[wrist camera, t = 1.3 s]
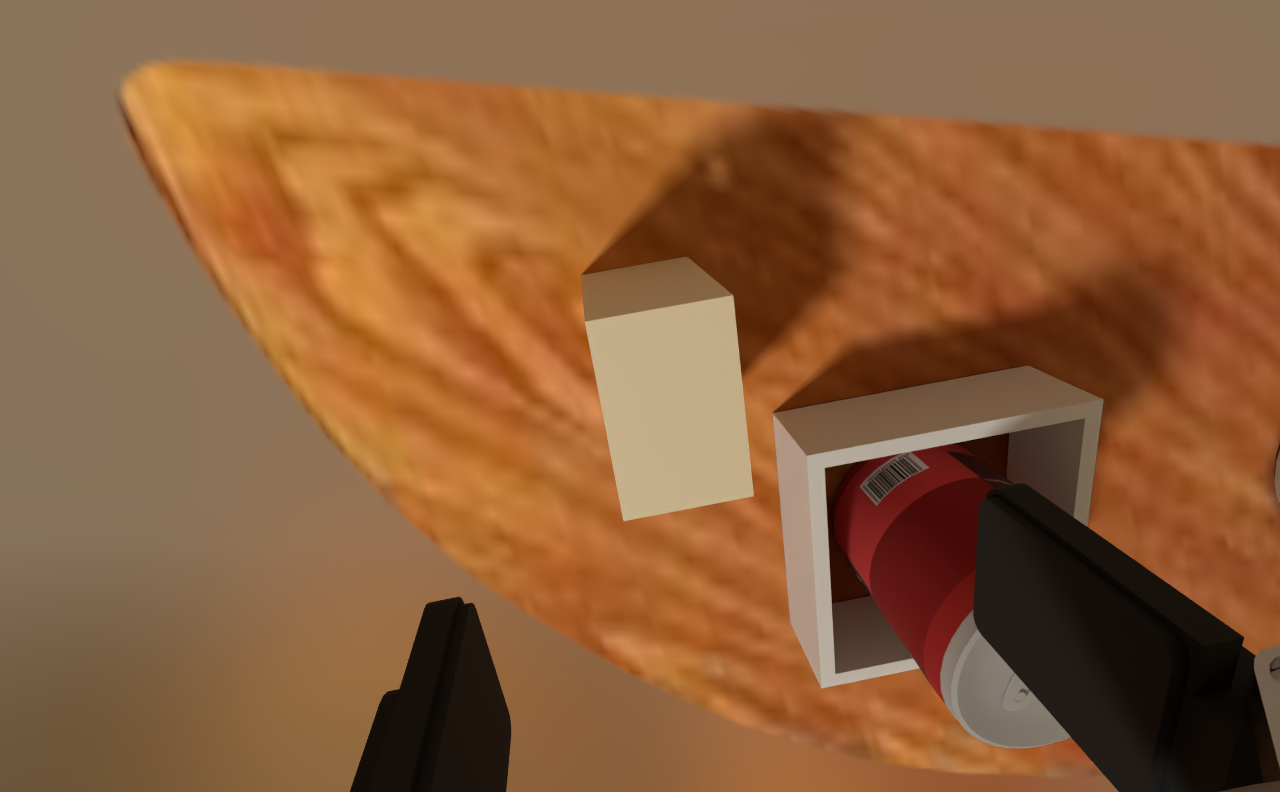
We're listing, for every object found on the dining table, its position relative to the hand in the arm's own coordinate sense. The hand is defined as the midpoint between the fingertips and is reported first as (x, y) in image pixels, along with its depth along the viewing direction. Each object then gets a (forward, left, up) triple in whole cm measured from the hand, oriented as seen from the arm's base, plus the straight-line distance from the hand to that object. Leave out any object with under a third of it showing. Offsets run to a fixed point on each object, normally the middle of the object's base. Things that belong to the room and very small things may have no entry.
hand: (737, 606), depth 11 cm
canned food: (-12, +11, -17) cm, 23 cm away
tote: (-12, +11, -17) cm, 23 cm away
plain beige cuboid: (0, 0, -17) cm, 17 cm away
